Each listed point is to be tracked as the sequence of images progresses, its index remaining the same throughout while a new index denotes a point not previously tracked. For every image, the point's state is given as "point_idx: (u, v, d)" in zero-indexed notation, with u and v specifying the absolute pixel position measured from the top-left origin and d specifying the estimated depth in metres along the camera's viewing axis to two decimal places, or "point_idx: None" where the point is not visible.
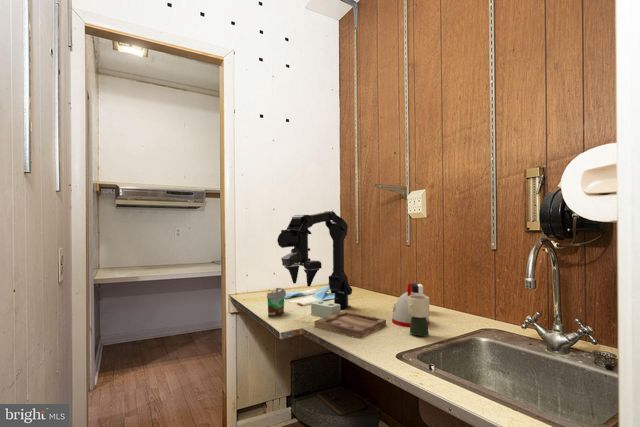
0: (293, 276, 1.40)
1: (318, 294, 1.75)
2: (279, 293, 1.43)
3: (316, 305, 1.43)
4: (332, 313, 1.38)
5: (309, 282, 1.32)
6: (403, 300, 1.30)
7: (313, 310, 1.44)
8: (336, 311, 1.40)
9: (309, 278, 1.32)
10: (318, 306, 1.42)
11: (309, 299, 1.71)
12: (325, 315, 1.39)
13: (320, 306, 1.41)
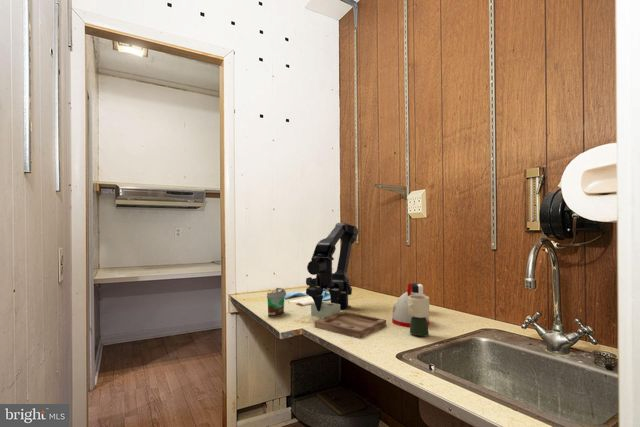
0: (331, 299, 1.47)
1: None
2: (279, 293, 1.43)
3: None
4: (332, 313, 1.38)
5: (317, 307, 1.40)
6: (403, 300, 1.30)
7: (313, 310, 1.44)
8: (336, 311, 1.40)
9: (315, 303, 1.39)
10: None
11: (309, 299, 1.71)
12: (325, 315, 1.39)
13: None
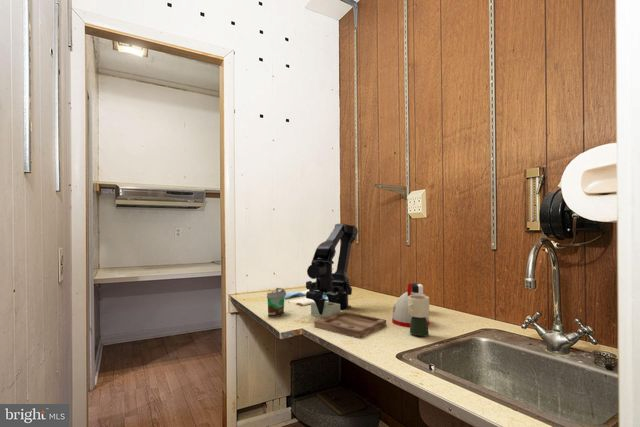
0: None
1: None
2: (279, 293, 1.43)
3: None
4: (332, 312, 1.38)
5: (319, 310, 1.40)
6: (403, 300, 1.30)
7: (313, 310, 1.44)
8: (336, 311, 1.40)
9: (317, 306, 1.40)
10: None
11: (309, 299, 1.71)
12: (325, 315, 1.39)
13: None
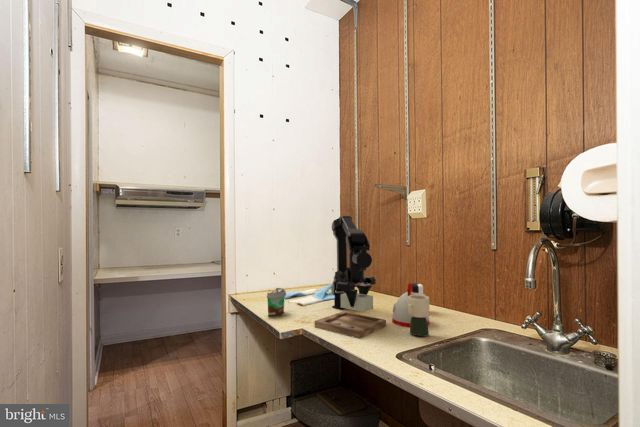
0: None
1: (318, 294, 1.75)
2: (279, 293, 1.43)
3: (346, 296, 1.31)
4: (365, 304, 1.26)
5: (350, 302, 1.29)
6: (403, 300, 1.30)
7: (343, 302, 1.32)
8: (369, 303, 1.28)
9: (349, 298, 1.28)
10: None
11: (309, 299, 1.71)
12: (357, 307, 1.28)
13: None
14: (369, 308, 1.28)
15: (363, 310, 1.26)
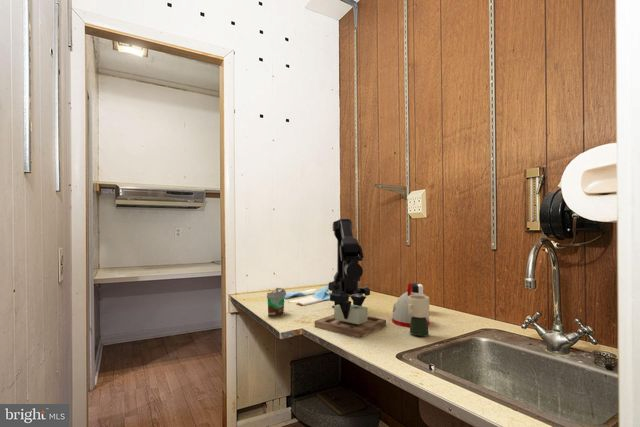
0: None
1: (318, 294, 1.75)
2: (279, 293, 1.43)
3: (340, 308, 1.27)
4: (359, 316, 1.23)
5: (344, 314, 1.25)
6: (403, 300, 1.30)
7: (336, 314, 1.28)
8: (364, 315, 1.25)
9: (342, 310, 1.25)
10: None
11: (309, 299, 1.71)
12: (351, 319, 1.24)
13: None
14: (363, 320, 1.25)
15: (357, 322, 1.22)
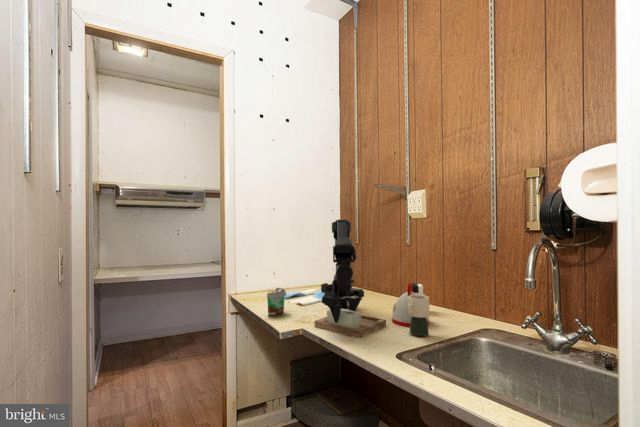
0: (350, 309, 1.29)
1: (318, 294, 1.75)
2: (279, 293, 1.43)
3: None
4: (352, 322, 1.20)
5: (334, 318, 1.21)
6: (403, 300, 1.30)
7: (329, 319, 1.25)
8: (357, 320, 1.22)
9: (332, 313, 1.21)
10: None
11: (309, 299, 1.71)
12: (344, 325, 1.21)
13: None
14: (357, 326, 1.21)
15: None
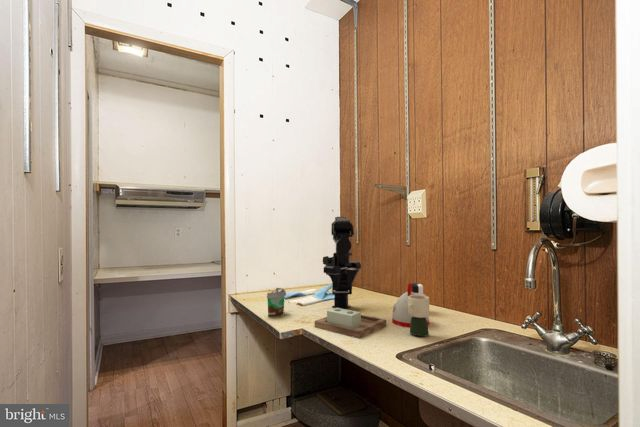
0: (348, 279, 1.45)
1: (318, 294, 1.75)
2: (279, 293, 1.43)
3: (333, 313, 1.24)
4: (352, 322, 1.20)
5: (334, 286, 1.37)
6: (403, 300, 1.30)
7: (329, 319, 1.25)
8: (357, 320, 1.22)
9: (333, 282, 1.37)
10: (335, 314, 1.23)
11: (309, 299, 1.71)
12: (344, 325, 1.21)
13: (338, 314, 1.23)
14: (357, 326, 1.21)
15: None
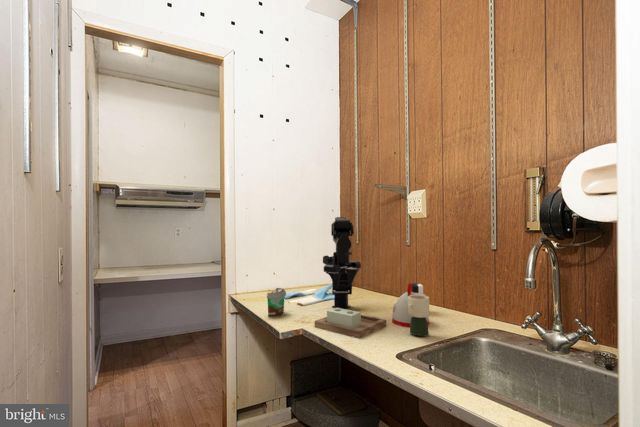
0: (348, 278, 1.45)
1: (318, 294, 1.75)
2: (279, 293, 1.43)
3: (333, 313, 1.24)
4: (352, 322, 1.20)
5: (334, 285, 1.37)
6: (403, 300, 1.30)
7: (329, 319, 1.25)
8: (357, 320, 1.22)
9: (333, 281, 1.37)
10: (335, 314, 1.23)
11: (309, 299, 1.71)
12: (344, 325, 1.21)
13: (338, 314, 1.23)
14: (357, 326, 1.21)
15: None
